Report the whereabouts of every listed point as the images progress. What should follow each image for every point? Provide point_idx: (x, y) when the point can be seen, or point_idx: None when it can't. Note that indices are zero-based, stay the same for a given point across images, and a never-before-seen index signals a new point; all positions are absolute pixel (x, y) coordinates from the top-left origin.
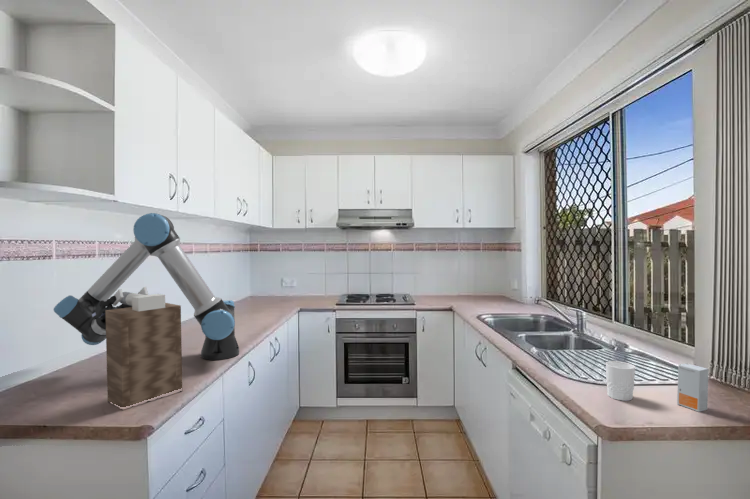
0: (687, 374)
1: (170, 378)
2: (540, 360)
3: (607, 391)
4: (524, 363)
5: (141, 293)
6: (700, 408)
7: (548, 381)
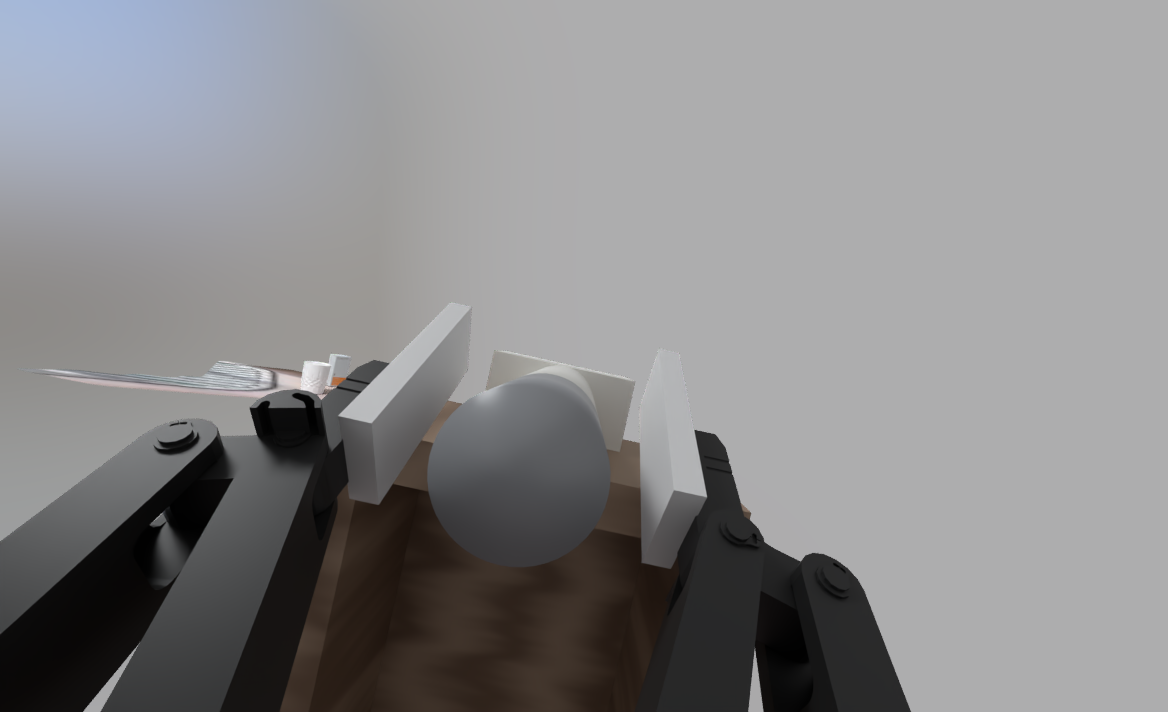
0: (342, 361)
1: None
2: (146, 382)
3: (308, 389)
4: (159, 390)
5: (443, 371)
6: None
7: (258, 397)
